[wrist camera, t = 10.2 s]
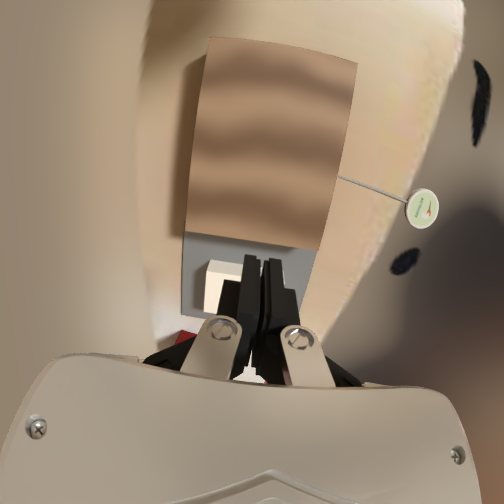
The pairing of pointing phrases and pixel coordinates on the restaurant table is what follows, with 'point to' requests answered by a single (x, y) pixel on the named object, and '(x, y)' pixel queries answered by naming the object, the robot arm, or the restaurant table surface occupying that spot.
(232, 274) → the cream rectangular block
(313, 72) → the board
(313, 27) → the restaurant table surface
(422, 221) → the sign
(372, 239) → the restaurant table surface
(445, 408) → the robot arm
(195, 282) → the mat
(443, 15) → the restaurant table surface
